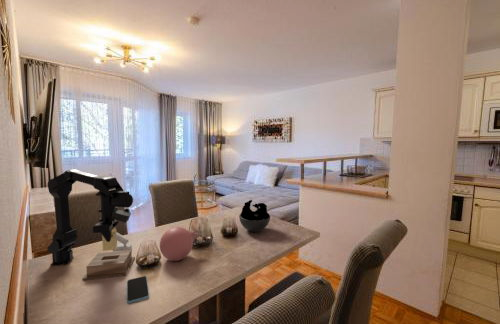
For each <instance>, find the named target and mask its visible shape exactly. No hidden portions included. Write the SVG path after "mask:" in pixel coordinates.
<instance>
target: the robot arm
mask: <svg viewBox="0 0 500 324" xmlns="http://www.w3.org/2000/svg"><path fill="white" fill-rule="evenodd" d="M47 181H48V182H47V189H48V193H49V194H50V196H52V197H53V199H54V201H53V202H54V209H55V210H54V211H55V222H56V224H55V225H56V229H55V231H54V233H53V234H52V242H51V243H50V244H49V245H48V246H47V248H46V249H47V252H48V253H51V256H52V262H51V263H50V266H58V265H59V266H60V265H67V264H69V262H71V260H73V259H74V255H73V252H74V251H73V249H72V247H73V246H75V244H76V241H77V238H78V234H77V232H78V231H77V229H74V228H73V227H72V226H71V225H72V224H71V214H70V202H69V196H70V194H71V193H72V190H73V185H74V184H75V183H76V182H79V183H83V184H87V185H90V186H92V187H93V188H94V189H95V190H97V191H98V192H96V193H95V196H98V197H99V199H100V201H99V203H100V209H98V213H100V218H99V219H98V222H97V223H96V224H95V225H93V226H92V227H91V233H93V234H97V233H100V234H101V236H102V235H103V237H104V238H105V239H106V241H107V242H110V239H111V231H112V229H113V228H114V227H115V228H116V226H117V225H118V224H119V223H120V222H121V223H125V224H126V223H127V222H129V220H130V217H131V215H132V213H131V211H130V209H131V208H130V207H131V206H132V205H133V202H134V198H133V196H132V195H131V194H130V191H129V190H127V191H124V189H123V187H122V185H121V184H120V183H119V181H118V179H117V178H116V177H115V176H108V175H96V174H93V173H88V172H85V171H82V170H79V169H67V170H65V171H64V172H62V173H61V174H59V175H56V176H55V177H53V178H51V179H49V180H47ZM119 208H125V209H124V210H123V209H122V210H120V209H119Z"/></svg>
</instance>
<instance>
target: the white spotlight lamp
mask: <svg viewBox="0 0 500 324" xmlns="http://www.w3.org/2000/svg"><path fill="white" fill-rule="evenodd" d="M116 233H117V248H116V250H112V252H113V251H125V250H132V249H133V245H132V242H130V241H129V239H128V238H127V237H125V236H124V235H122V234H121V233H119V232H118V231H116ZM118 242H119V243H118Z"/></svg>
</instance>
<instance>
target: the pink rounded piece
mask: <svg viewBox="0 0 500 324" xmlns="http://www.w3.org/2000/svg"><path fill="white" fill-rule="evenodd" d="M197 236H201V233H200V232H196V231H195V230H192V231H189V230H188V229H186V228H185V227H182V226H175V227H171V228H169V229H168V230H166V231H165V232H164V233H163V234H162V236H161V237H160V240H159V241H160V242H159V251H160V253H161V254H162V256H163V257H164V258H165V259H167V260H169V261H175V262H176V261H180V260H183V259H184V258H186V257H187V256H188V255H189V254H190V253H191V252H192V249H193V245H194V241H195V240H196V239H197Z"/></svg>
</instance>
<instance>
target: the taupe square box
mask: <svg viewBox="0 0 500 324" xmlns="http://www.w3.org/2000/svg"><path fill="white" fill-rule="evenodd" d="M132 255H133V254H132V249H131V250H125V251H113V250H112V251H103V252H102V251H101V252H98V253H97V254H96V255H95V256H94V257H93V258H92V260H91V261H90V262H89V263H88V264H87V265H86V273H85V275H84V276H83V278H82V281H89V280H90V281H92V280H99V279H108V278H118V277H126V276H127V274H128V272H129V270H130V268H131V267H132V264H133V263H134V260H135V258H136V257H135V256H132Z"/></svg>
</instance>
